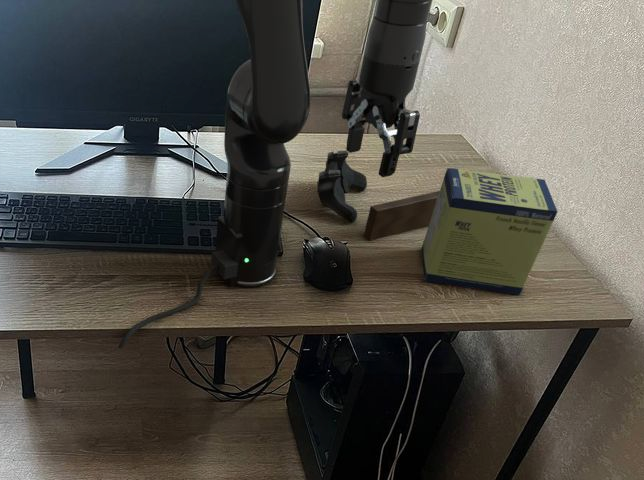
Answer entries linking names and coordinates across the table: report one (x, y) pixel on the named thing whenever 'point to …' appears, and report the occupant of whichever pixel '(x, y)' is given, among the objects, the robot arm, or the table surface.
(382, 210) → the bar
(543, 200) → the protein box
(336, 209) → the game controller
